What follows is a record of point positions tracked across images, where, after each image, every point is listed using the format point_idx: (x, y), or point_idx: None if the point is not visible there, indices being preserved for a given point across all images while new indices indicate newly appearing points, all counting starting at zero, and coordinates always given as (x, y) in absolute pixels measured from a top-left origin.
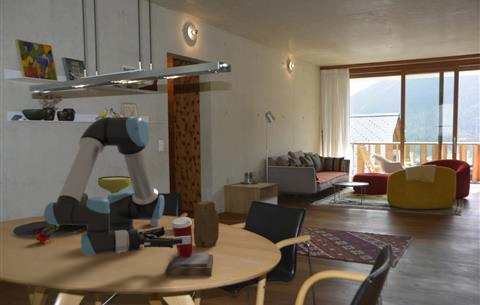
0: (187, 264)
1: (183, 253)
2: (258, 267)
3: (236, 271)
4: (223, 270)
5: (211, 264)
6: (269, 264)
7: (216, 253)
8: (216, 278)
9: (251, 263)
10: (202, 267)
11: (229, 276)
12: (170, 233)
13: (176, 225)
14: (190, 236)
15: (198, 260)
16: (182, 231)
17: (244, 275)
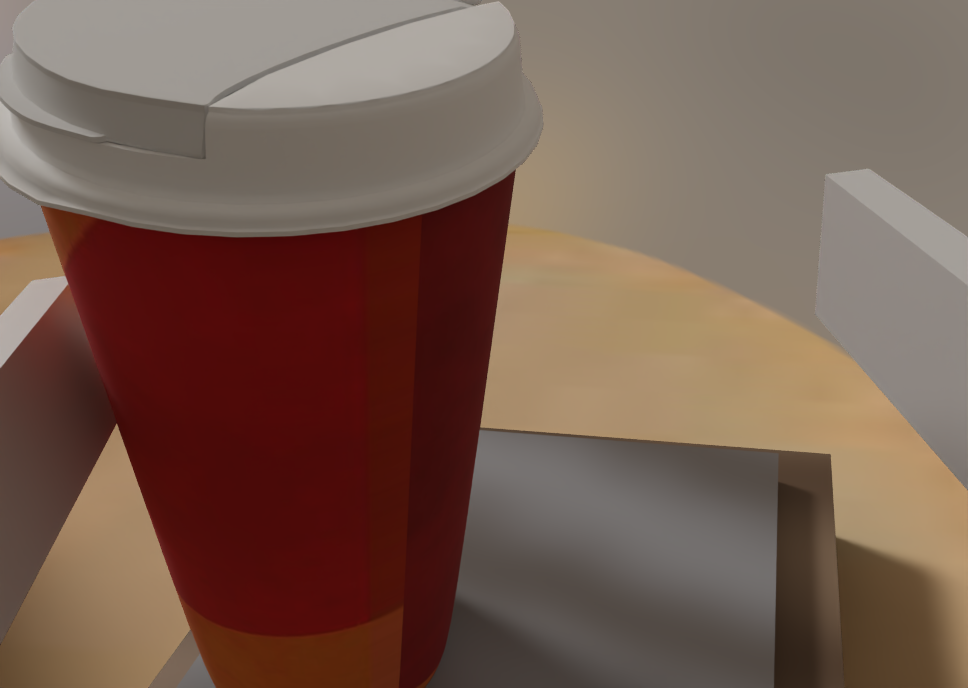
0: (773, 656)
1: (443, 622)
2: (620, 280)
3: (694, 372)
4: (650, 438)
5: (703, 445)
6: (571, 243)
7: (116, 445)
8: (901, 499)
9: (516, 299)
10: (820, 522)
11: (832, 415)
12: (10, 527)
13: (449, 123)
14: (869, 178)
15: (624, 519)
16: (506, 229)
17: (803, 342)
